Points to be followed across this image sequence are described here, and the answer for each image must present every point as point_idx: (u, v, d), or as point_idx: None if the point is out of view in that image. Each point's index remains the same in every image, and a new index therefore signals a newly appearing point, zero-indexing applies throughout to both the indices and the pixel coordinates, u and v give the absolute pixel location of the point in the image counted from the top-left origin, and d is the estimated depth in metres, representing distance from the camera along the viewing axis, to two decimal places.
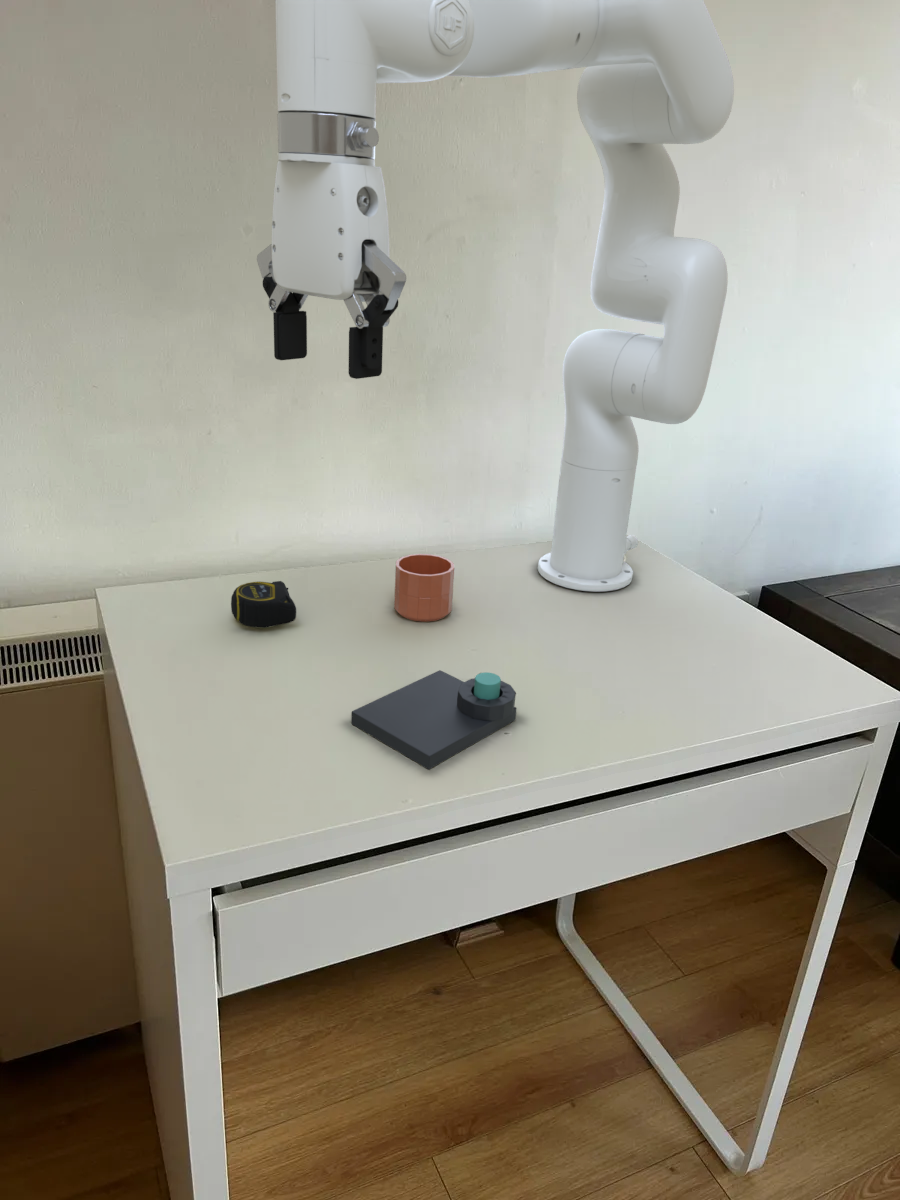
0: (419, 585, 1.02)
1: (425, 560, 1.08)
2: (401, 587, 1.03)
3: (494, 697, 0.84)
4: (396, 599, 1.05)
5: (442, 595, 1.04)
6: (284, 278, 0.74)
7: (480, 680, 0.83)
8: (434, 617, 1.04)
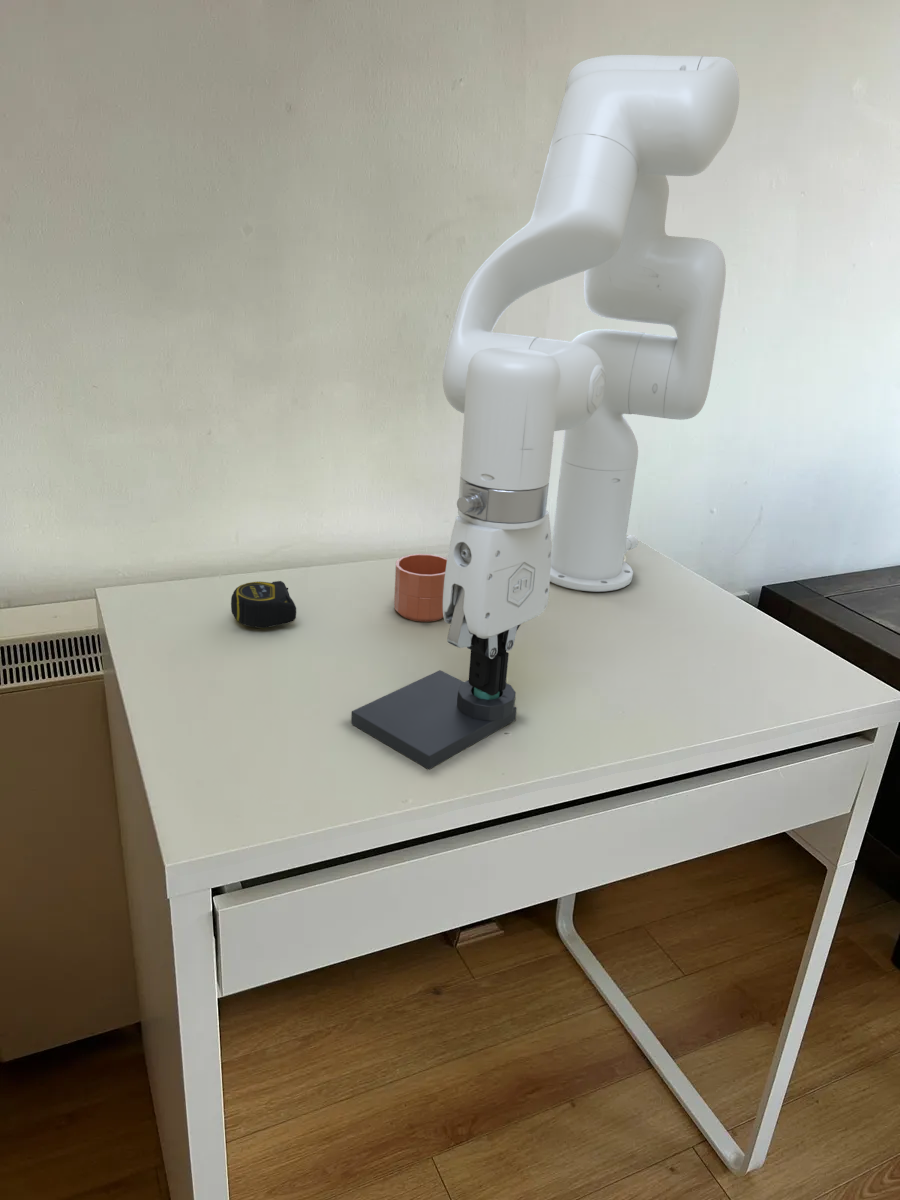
0: (419, 585, 1.02)
1: (425, 560, 1.08)
2: (401, 587, 1.03)
3: None
4: (396, 599, 1.05)
5: (442, 595, 1.04)
6: None
7: None
8: (434, 617, 1.04)
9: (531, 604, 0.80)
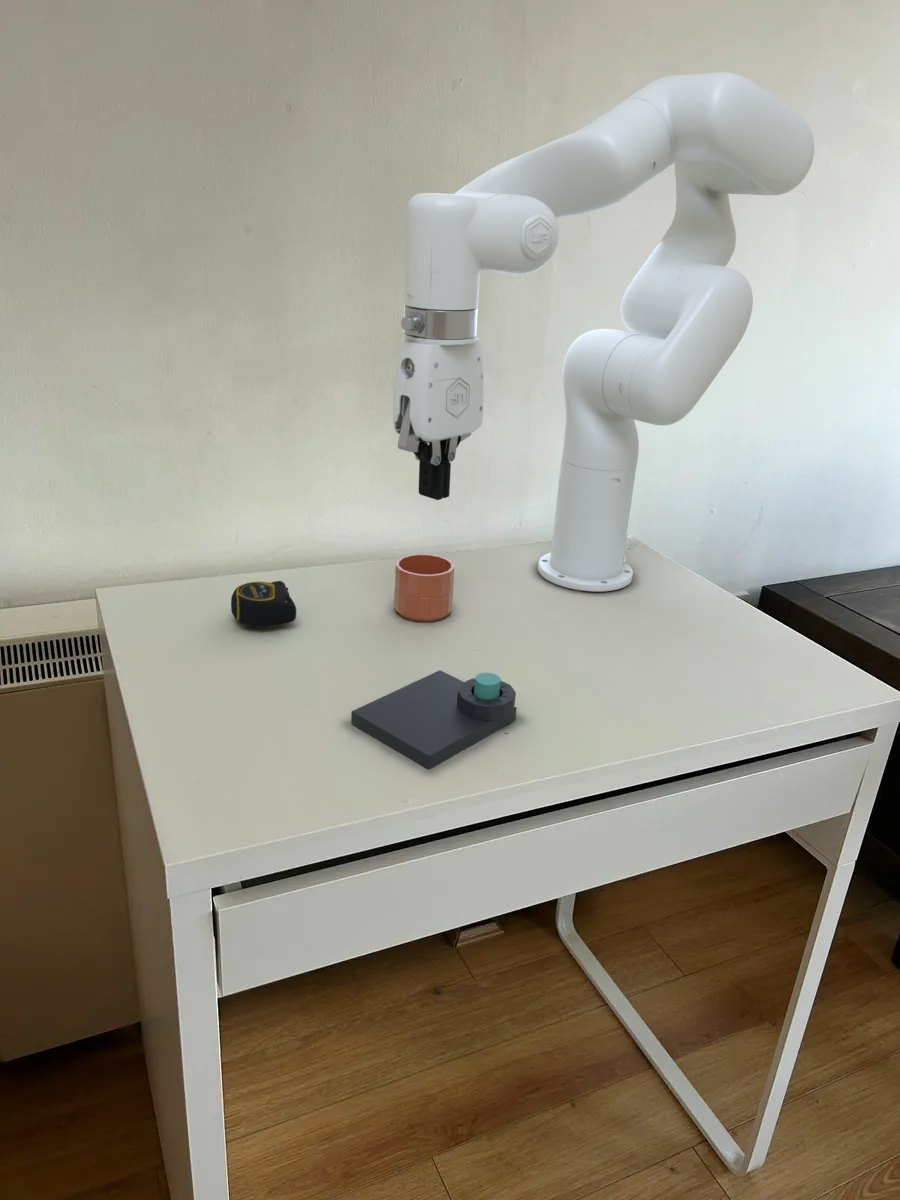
0: (419, 585, 1.02)
1: (425, 560, 1.08)
2: (401, 587, 1.03)
3: (494, 697, 0.84)
4: (396, 599, 1.05)
5: (442, 595, 1.04)
6: None
7: (480, 680, 0.83)
8: (434, 617, 1.04)
9: (467, 418, 0.96)
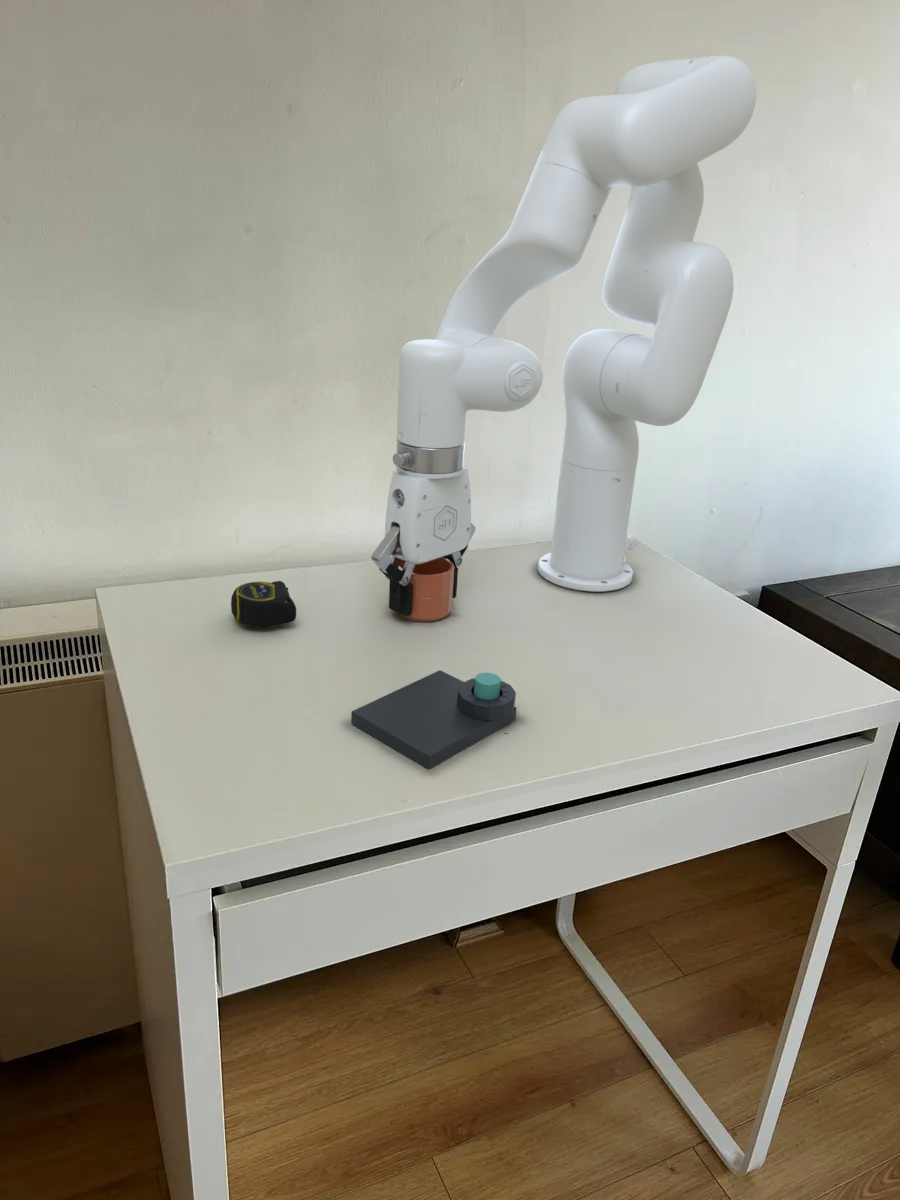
0: (419, 585, 1.02)
1: None
2: None
3: (494, 697, 0.84)
4: None
5: (442, 595, 1.04)
6: None
7: (480, 680, 0.83)
8: (434, 617, 1.04)
9: (455, 539, 1.03)
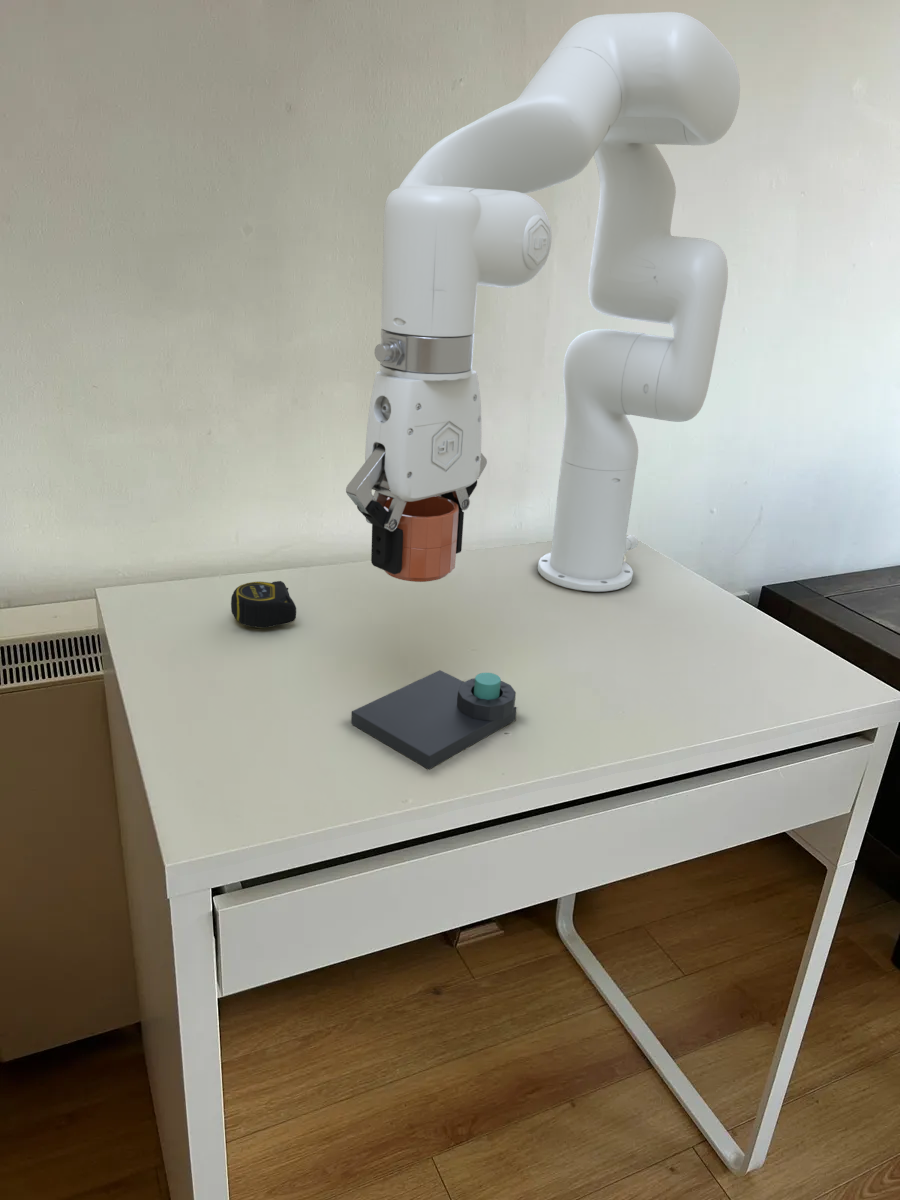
0: (411, 531, 0.76)
1: (419, 502, 0.81)
2: None
3: (494, 697, 0.84)
4: None
5: (442, 546, 0.77)
6: None
7: (480, 680, 0.83)
8: (431, 575, 0.78)
9: (460, 471, 0.76)
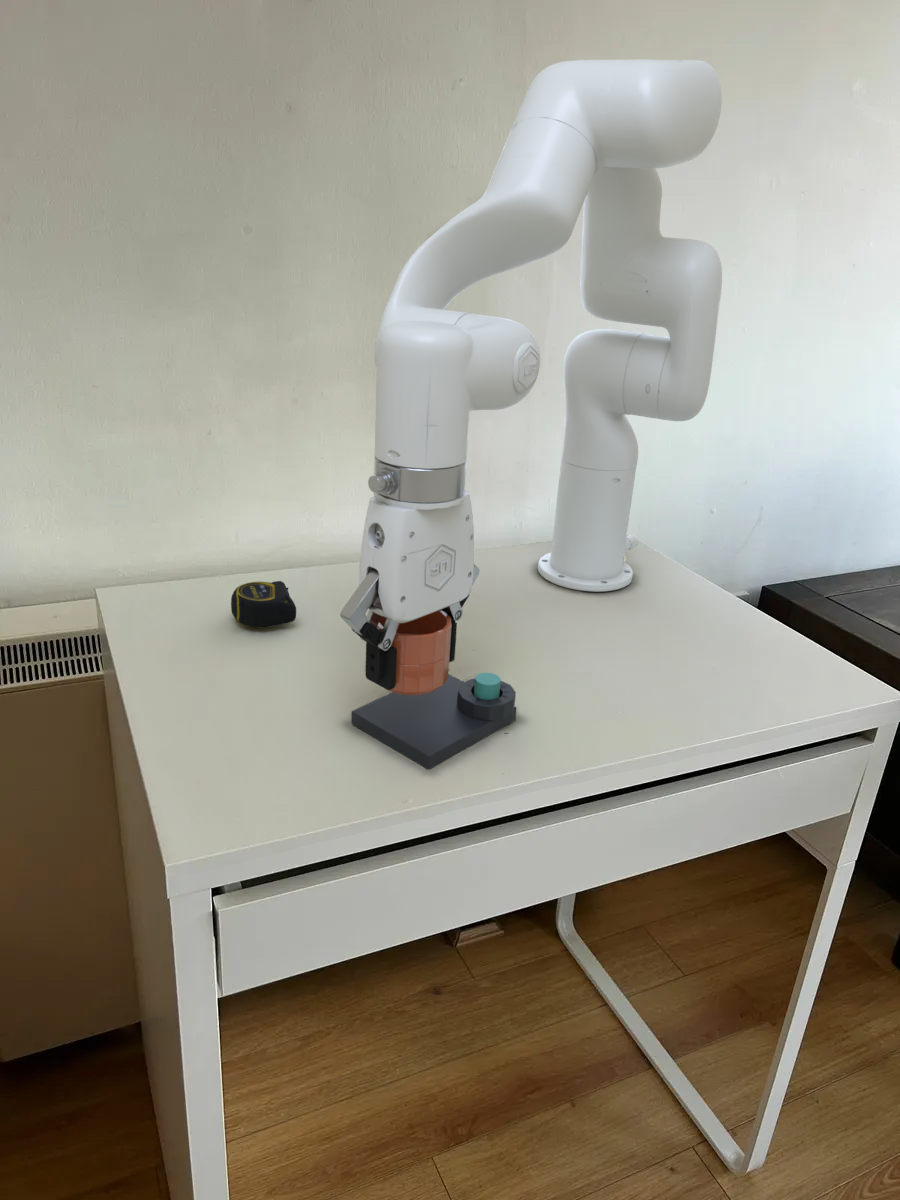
0: (405, 649, 0.77)
1: None
2: None
3: (494, 697, 0.84)
4: None
5: (435, 661, 0.78)
6: None
7: (480, 680, 0.83)
8: (425, 690, 0.79)
9: (453, 588, 0.77)
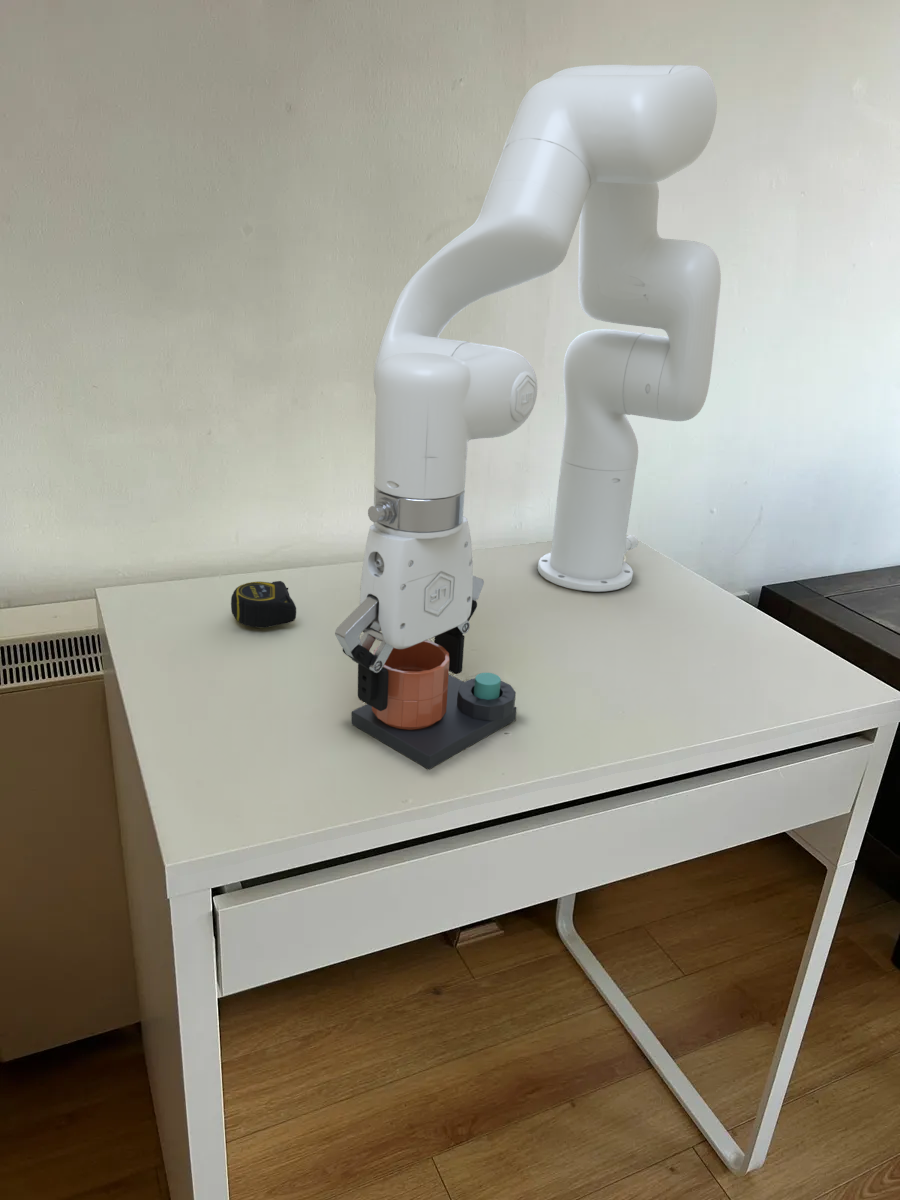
0: (403, 685, 0.78)
1: (412, 647, 0.84)
2: None
3: (494, 697, 0.84)
4: None
5: (433, 697, 0.80)
6: None
7: (480, 680, 0.83)
8: (423, 724, 0.80)
9: (452, 613, 0.79)
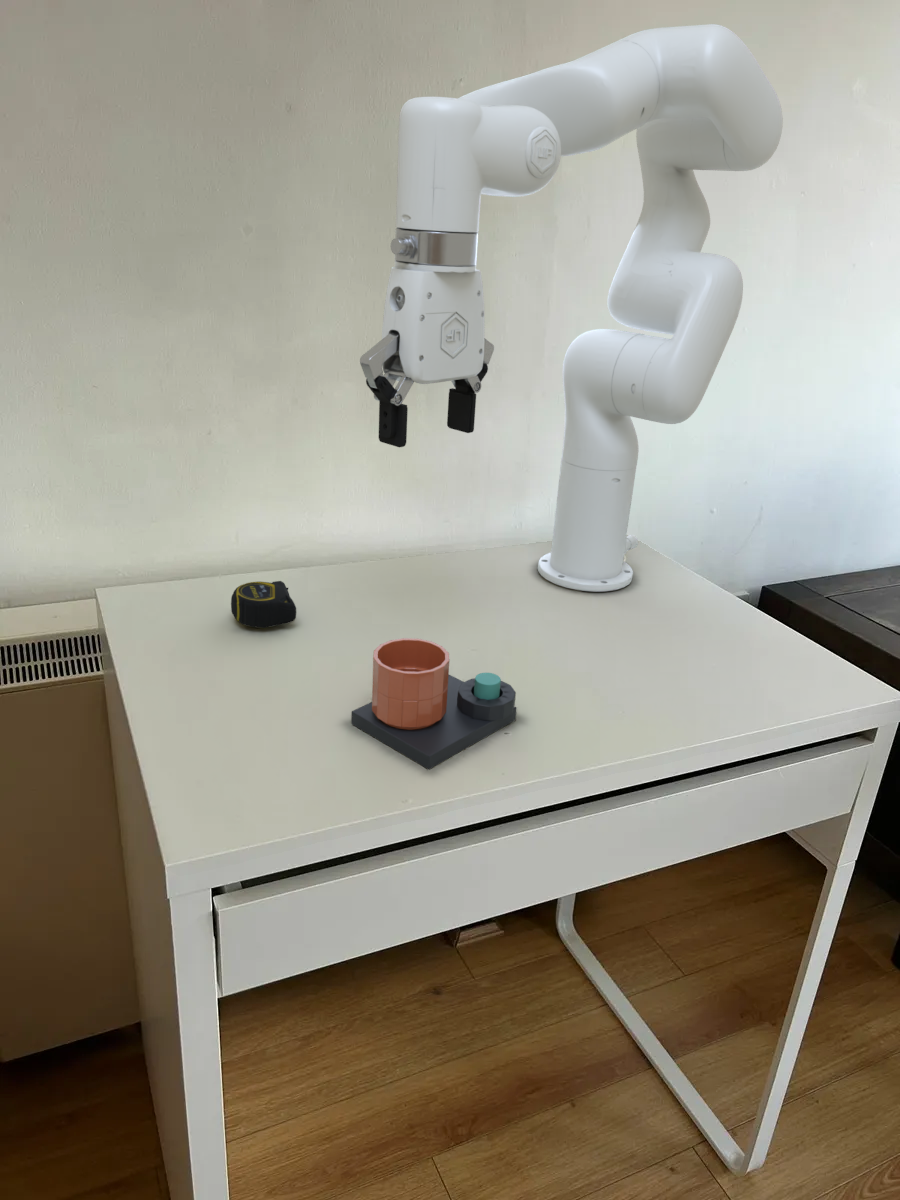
0: (403, 685, 0.78)
1: (412, 647, 0.84)
2: (380, 686, 0.79)
3: (494, 697, 0.84)
4: (374, 700, 0.81)
5: (433, 697, 0.80)
6: None
7: (480, 680, 0.83)
8: (423, 724, 0.80)
9: (465, 360, 0.86)
